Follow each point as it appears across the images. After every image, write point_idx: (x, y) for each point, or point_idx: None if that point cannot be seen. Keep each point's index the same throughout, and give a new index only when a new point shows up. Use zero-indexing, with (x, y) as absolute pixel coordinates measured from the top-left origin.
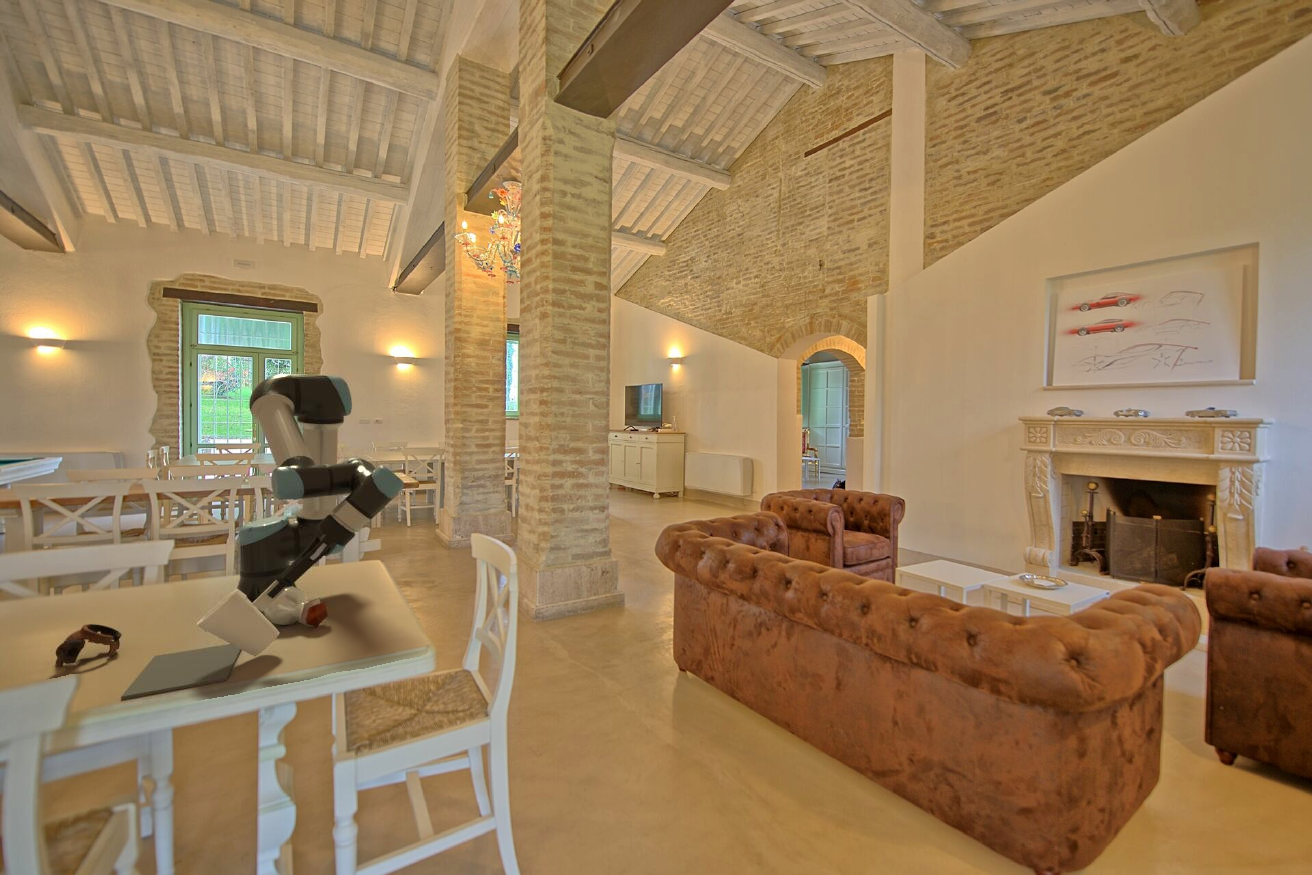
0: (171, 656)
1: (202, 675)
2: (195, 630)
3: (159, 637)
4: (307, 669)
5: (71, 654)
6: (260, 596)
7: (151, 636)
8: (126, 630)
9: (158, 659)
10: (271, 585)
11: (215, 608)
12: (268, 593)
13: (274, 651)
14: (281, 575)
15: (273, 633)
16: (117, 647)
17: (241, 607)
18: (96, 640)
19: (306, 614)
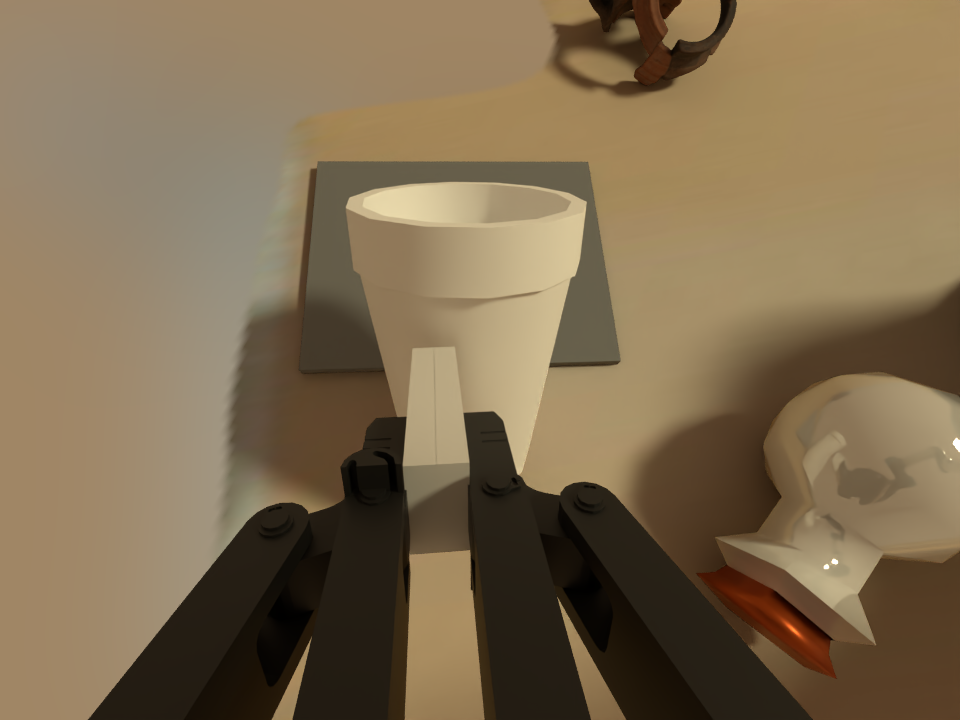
0: None
1: (358, 302)
2: (797, 208)
3: (758, 141)
4: None
5: (608, 5)
6: (412, 378)
7: (771, 123)
8: (835, 66)
9: (553, 175)
10: (407, 430)
11: (546, 202)
12: (373, 425)
13: None
14: (487, 493)
15: None
16: (663, 74)
17: (395, 306)
18: (640, 12)
19: (745, 573)
